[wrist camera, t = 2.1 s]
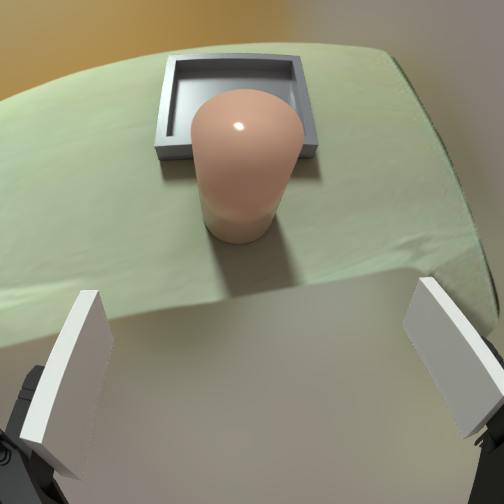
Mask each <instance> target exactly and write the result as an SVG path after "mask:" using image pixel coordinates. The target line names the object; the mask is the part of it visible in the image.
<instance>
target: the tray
mask: <svg viewBox="0 0 504 504" xmlns="http://www.w3.org/2000/svg"><path fill="white" fill-rule="evenodd" d="M237 89H252V90H259V91H263V92H266V93H269V94H272V95H274V96H276V97H278V98H280V99H281V100H283V101H284V102H286V103H287V104H288V105H289V106H290V107H291V108H292V109H293V110H294V111H295V112H296V114H297V115H298V117H299V119H300V121H301V123H302V126H303V130H304V142H303V146H302V149H301V151H300V154H299V156H298V158H312V157H313V155H314V153H315V151H316V149H317V147H318V140H317V135H316V129H315V124H314V119H313V114H312V109H311V104H310V99H309V95H308V90H307V85H306V81H305V76H304V72H303V68H302V63H301V59H300V56H292V55H277V54H256V53H207V54H186V55H172V56H168V59H167V65H166V70H165V76H164V82H163V88H162V94H161V100H160V107H159V114H158V121H157V129H156V137H155V146H154V147H155V150H156V153H157V156H158V159H159V160H170V159H190V158H194V155H193V148H192V141H191V124H192V120H193V118H194V116H195V114H196V112H197V111H198V109H199V108H200V107H201V106H202V105H203V104H204V103H205V102H206V101H208V100H209V99H211V98H212V97H214V96H216V95H218V94H221V93H223V92H227V91H231V90H237Z"/></svg>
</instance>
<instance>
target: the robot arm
mask: <svg viewBox="0 0 504 504" xmlns="http://www.w3.org/2000/svg"><path fill="white" fill-rule="evenodd" d="M402 327H403V329H404V330H405V332H406V334H407V335H408V337H409V339H410V340H411V342H412V344H413V345H414V347H415V349H416V351H417V352H418V354H419V356H420V358H421V359H422V361H423V363H424V365H425V366H426V368H427V370H428V372H429V374H430V375H431V377H432V379H433V381H434V382H435V384H436V386H437V388H438V390H439V392H440V394H441V396H442V398H443V399H444V401H445V403H446V405H447V407H448V409H449V411H450V413H451V415H452V417H453V419H454V421H455V423H456V425H457V427H458V429H459V431H460V433H461V435H462V437H463V439H466V438H468V437H470V436H472V435H474V434H476V433H478V432H479V431H480V429H482V428H483V427H484V425H485V424H486V426H487V428H488V429H487V430H486V431H485V432H484V433H483V434H482V435H481V436H480V437H479V438H478V439H477V440H476V442H475V444H474V445H475V446H476V445H477V444H479V443H480V442H481V441H482V440H483V442H482V443H481V444H480V446H479V447H481V448H482V449H481V454H480V458H479V463H478V468H477V472H476V476H475V480H474V483H473V487H472V491H471V494H470V498H469V501H468V504H504V362H503V358H502V357H501V356H500V355H499V354H498V351H497V350H496V349H495V348H494V346H493V345H492V343H490V342H489V341H488V340H487V339H486V338H484V337H483V336H481V337H480V336H479V334H478V333H477V332H476V330H475V329H474V328H473V327H472V325H471V324H470V323H469V321H468V320H467V319H466V317H465V316H464V315H463V314H462V312H461V311H460V310H459V309H458V307H457V306H456V305H455V304H454V302H453V301H452V300H451V299H450V297H449V296H448V295H447V294H446V293H445V291H444V290H443V289H442V288H441V287H440V285H439V284H438V283H437V282H436V281H435V280H434V278H433V277H425V278H419V280H418V283H417V285H416V288H415V291H414V294H413V297H412V300H411V303H410V305H409V308H408V310H407V313H406V316H405V318H404V321H403V323H402ZM114 341H115V340H114V338H113V335H112V332H111V329H110V326H109V323H108V320H107V317H106V314H105V311H104V308H103V304H102V301H101V298H100V295H99V291H98V290H81V292H80V294H79V296H78V297H77V299H76V301H75V303H74V305H73V307H72V309H71V311H70V313H69V315H68V317H67V320H66V322H65V324H64V326H63V328H62V330H61V332H60V334H59V337H58V339H57V341H56V343H55V345H54V348H53V350H52V352H51V354H50V357H49V359H48V362H47V364H46V366H39V365H36V366H35V367H34V368H33V369H32V370H31V371H30V372H29V374H27V376H26V378H25V381H24V383H23V385H22V390H20V393H19V395H18V400H16V403H15V405H14V408H13V411H12V413H11V416H10V419H9V422H8V424H7V427H6V430H5V433H4V432H3V431H2V430H1V429H0V504H69V503H68V501H67V500H66V498H65V496H64V494H63V493H62V491H61V489H60V487H59V486H58V484H57V482H56V480H55V479H54V478H53V473H54V470H55V471H57V472H58V473H59V474H60V475H61V476H64V477H68V478H72V479H77V480H82V476H83V471H84V465H85V459H86V454H87V449H88V444H89V439H90V435H91V430H92V425H93V421H94V416H95V412H96V408H97V404H98V400H99V396H100V392H101V388H102V384H103V380H104V376H105V373H106V369H107V366H108V362H109V358H110V355H111V351H112V348H113V345H114Z"/></svg>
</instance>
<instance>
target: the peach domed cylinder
mask: <svg viewBox="0 0 504 504" xmlns="http://www.w3.org/2000/svg"><path fill="white" fill-rule="evenodd" d="M191 141H192V148H193V155H194V162H195V169H196V176H197V183H198V189H199V196H200V202H201V209H202V215H203V219H204V222H205V224H206V226H207V228H208V229H209V231H210V232H211V233H212V234H213V235H214V236H216V237H217V238H219V239H220V240H222V241H225V242H228V243H232V244H245V243H250V242H252V241H255V240H257V239H258V238H260V237H261V236H262V235H264V234H265V233H266V231H267V230H268V229H269V227H270V225H271V223H272V221H273V218H274V216H275V213H276V211H277V208H278V206H279V203H280V201H281V198H282V196H283V193H284V191H285V188H286V186H287V184H288V181H289V179H290V176H291V174H292V171H293V169H294V166H295V164H296V161H297V159H298V156H299V154H300V151H301V149H302V146H303V142H304V130H303V126H302V123H301V121H300V119H299V117H298V115H297V114H296V112H295V111H294V110H293V109H292V108H291V107H290V106H289V105H288V104H287V103H286V102H284V101H283V100H281V99H280V98H278V97H276V96H274V95H272V94H269V93H266V92H263V91H259V90H252V89H237V90H231V91H227V92H223V93H221V94H218V95H216V96H214V97H212V98H211V99H209V100H208V101H206V102H205V103H204V104H203V105H202V106H201V107H200V108H199V109H198V111H197V112H196V114H195V116H194V118H193V120H192V124H191Z"/></svg>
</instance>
